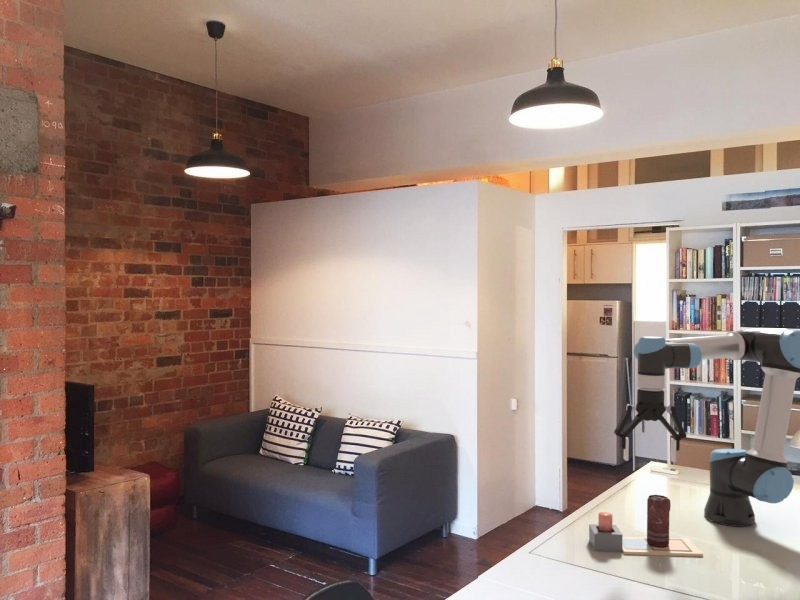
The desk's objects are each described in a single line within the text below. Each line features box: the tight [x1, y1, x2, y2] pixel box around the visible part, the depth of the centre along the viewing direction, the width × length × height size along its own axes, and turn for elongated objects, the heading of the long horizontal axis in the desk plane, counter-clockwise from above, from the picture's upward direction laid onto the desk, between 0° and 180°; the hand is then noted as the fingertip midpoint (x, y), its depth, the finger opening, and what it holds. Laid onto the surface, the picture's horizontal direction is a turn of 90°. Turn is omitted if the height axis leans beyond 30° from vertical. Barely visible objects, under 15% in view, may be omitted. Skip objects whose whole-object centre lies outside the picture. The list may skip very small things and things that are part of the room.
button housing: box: [588, 523, 623, 553], centre depth 199 cm, size 8×8×5 cm
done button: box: [597, 511, 613, 532], centre depth 199 cm, size 4×4×4 cm
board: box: [622, 536, 704, 558], centre depth 197 cm, size 22×12×1 cm, turn 85°
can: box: [646, 494, 671, 548], centre depth 197 cm, size 6×6×14 cm
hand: (649, 460), depth 197 cm, fingers open, 13 cm apart
